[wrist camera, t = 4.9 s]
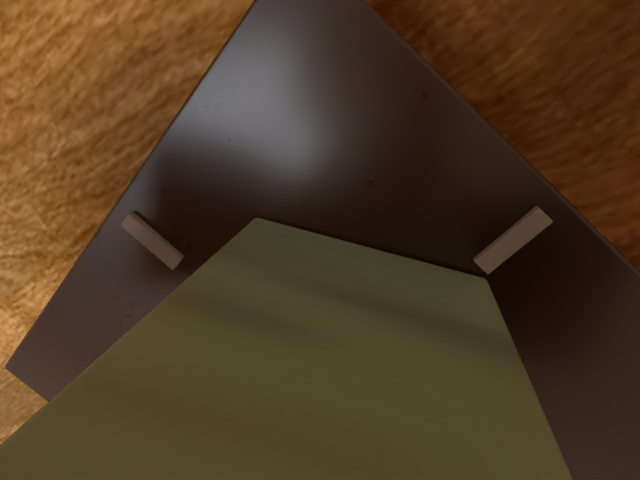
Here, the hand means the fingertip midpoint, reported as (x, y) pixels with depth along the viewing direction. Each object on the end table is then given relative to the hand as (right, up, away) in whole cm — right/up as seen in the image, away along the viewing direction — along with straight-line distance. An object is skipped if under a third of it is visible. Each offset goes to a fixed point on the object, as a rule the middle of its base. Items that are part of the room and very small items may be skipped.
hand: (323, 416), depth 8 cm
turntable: (0, +1, +3) cm, 3 cm away
